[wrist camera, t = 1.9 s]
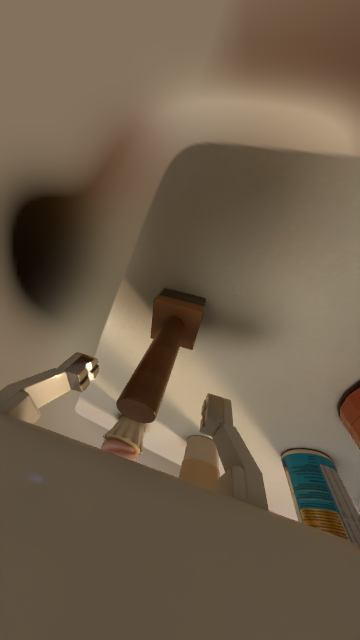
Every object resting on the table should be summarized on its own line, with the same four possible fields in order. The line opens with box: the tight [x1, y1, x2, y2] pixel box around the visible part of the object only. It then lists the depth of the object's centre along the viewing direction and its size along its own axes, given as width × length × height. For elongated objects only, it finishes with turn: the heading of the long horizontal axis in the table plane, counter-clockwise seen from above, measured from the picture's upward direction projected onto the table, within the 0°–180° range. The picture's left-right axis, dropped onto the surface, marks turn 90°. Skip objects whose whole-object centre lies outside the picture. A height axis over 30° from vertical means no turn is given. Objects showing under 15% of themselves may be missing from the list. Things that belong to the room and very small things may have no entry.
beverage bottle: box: [282, 449, 360, 549], centre depth 21 cm, size 8×8×20 cm
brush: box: [116, 288, 206, 423], centre depth 14 cm, size 5×5×12 cm
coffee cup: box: [179, 436, 220, 492], centre depth 29 cm, size 9×9×15 cm
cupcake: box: [101, 416, 145, 461], centre depth 33 cm, size 9×9×10 cm
